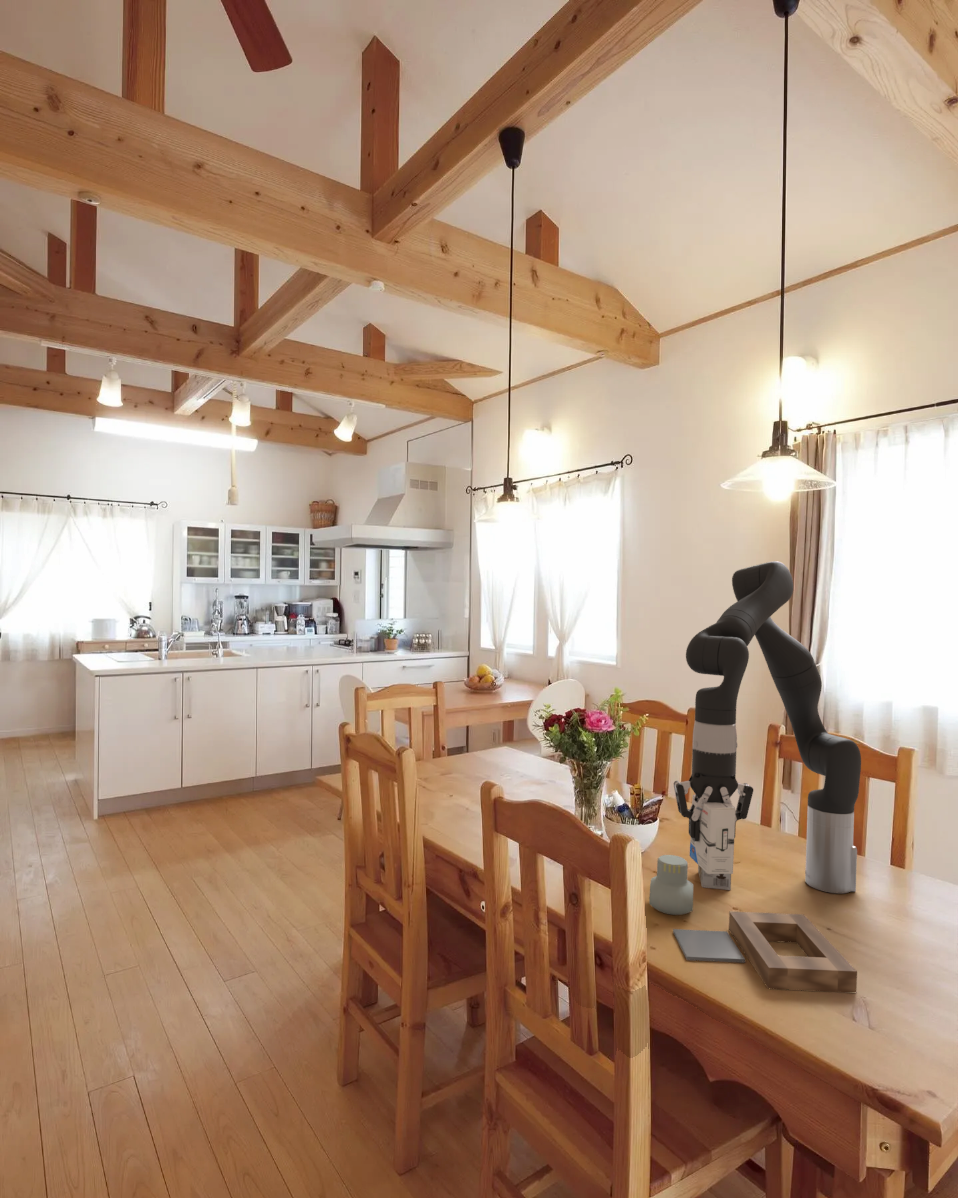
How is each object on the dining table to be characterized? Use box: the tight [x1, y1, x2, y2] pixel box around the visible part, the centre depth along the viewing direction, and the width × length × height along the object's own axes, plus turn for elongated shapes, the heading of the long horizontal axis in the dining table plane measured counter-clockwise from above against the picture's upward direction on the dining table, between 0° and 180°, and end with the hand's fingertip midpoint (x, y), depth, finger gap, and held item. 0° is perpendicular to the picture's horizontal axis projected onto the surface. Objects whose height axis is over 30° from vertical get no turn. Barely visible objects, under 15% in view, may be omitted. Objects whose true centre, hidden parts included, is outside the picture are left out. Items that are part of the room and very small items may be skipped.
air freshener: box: [648, 854, 694, 916], centre depth 142 cm, size 11×8×10 cm
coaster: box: [672, 928, 746, 964], centre depth 127 cm, size 10×10×1 cm
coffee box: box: [697, 864, 732, 891], centre depth 156 cm, size 9×6×16 cm
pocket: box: [728, 910, 858, 993], centre depth 123 cm, size 14×20×4 cm
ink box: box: [689, 794, 736, 875], centre depth 127 cm, size 9×5×12 cm, turn 5°
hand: (711, 840), depth 127 cm, fingers closed on ink box, 5 cm apart
